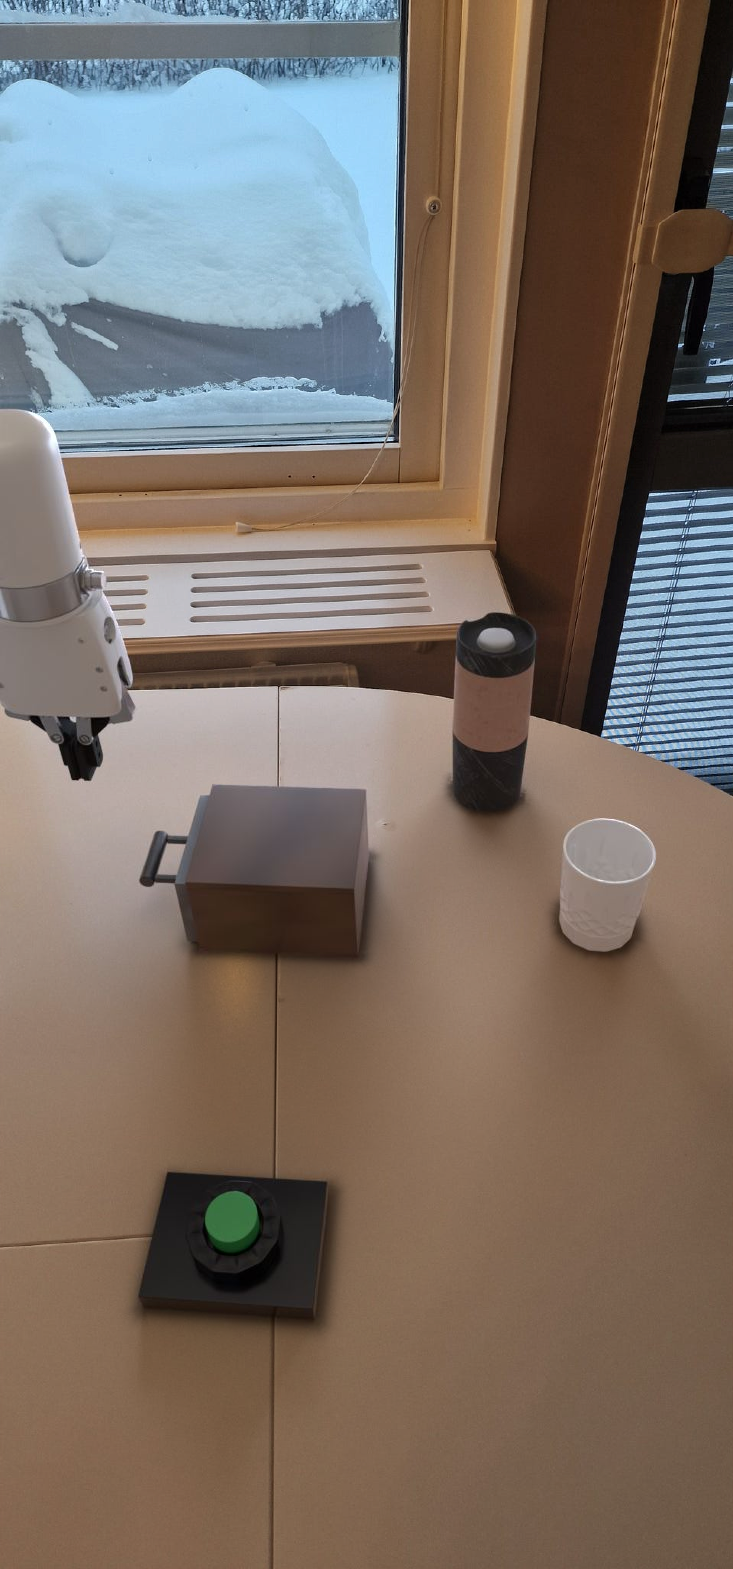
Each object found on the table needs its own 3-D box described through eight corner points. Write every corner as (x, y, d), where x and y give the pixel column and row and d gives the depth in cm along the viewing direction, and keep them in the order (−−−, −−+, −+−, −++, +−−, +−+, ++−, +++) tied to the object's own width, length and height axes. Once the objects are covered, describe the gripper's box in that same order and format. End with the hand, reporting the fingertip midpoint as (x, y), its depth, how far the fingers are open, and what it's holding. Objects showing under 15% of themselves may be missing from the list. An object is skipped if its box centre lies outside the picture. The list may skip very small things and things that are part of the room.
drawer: (141, 939, 95) (125, 881, 90) (168, 850, 104) (155, 793, 99) (333, 947, 94) (328, 889, 89) (345, 857, 102) (341, 799, 97)
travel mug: (513, 822, 106) (528, 662, 93) (441, 807, 108) (446, 649, 95) (529, 775, 112) (545, 618, 98) (460, 762, 114) (467, 606, 100)
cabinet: (200, 953, 95) (184, 882, 89) (224, 854, 104) (212, 783, 98) (358, 960, 94) (354, 888, 87) (369, 859, 103) (366, 788, 97)
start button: (203, 1251, 71) (200, 1240, 70) (213, 1201, 74) (210, 1189, 73) (255, 1255, 71) (252, 1243, 70) (263, 1204, 73) (261, 1192, 72)
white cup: (631, 968, 92) (648, 892, 86) (544, 945, 94) (554, 870, 88) (645, 905, 98) (662, 829, 91) (562, 885, 100) (573, 810, 93)
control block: (143, 1309, 72) (133, 1285, 69) (171, 1185, 78) (163, 1159, 76) (315, 1321, 71) (311, 1297, 68) (329, 1195, 78) (326, 1169, 75)
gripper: (147, 561, 79) (180, 745, 91) (-42, 557, 80) (16, 739, 93) (122, 614, 74) (161, 803, 86) (-80, 609, 75) (-13, 796, 87)
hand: (86, 769), depth 89 cm, fingers closed
